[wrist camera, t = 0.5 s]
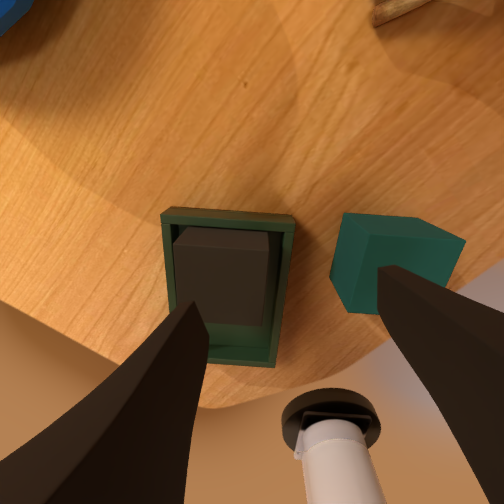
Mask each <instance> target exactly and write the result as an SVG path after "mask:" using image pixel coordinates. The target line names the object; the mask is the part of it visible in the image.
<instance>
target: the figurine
mask: <svg viewBox="0 0 504 504" xmlns="http://www.w3.org/2000/svg"><path fill="white" fill-rule="evenodd" d="M430 1H432V0H387V1H385V2H383V3H380V4H378V5H376V6H375V7H374V9H373V17H372V19H373V26H374V27H376V26H379V25H381V24H383V23H385V22H387V21H389V20H391V19H394V18H396V17H398V16H401V15H403V14H405V13H407V12H409V11H411V10H413V9H415V8H418V7H420V6H421V5H423V4H425V3H427V2H430Z"/></svg>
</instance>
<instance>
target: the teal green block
mask: <svg viewBox="0 0 504 504" xmlns="http://www.w3.org/2000/svg"><path fill="white" fill-rule="evenodd" d="M465 243H466V240H464V239H462V238H460V237H457V236H455V235H453V234H451V233H449V232H447V231H445V230H443V229H440V228H438V227H436V226H434V225H432V224H430V223H428V222H425V221H423V220H421V219H419V218H412V217H398V216H384V215H370V214H355V213H344V214H343V218H342V223H341V227H340V232H339V236H338V241H337V245H336V250H335V254H334V258H333V263H332V267H331V272H330V276H329V278H330V280H331V281H332V283H333V285H334V287H335V289H336V291H337V293H338V295H339V297H340V299H341V301H342V303H343V305H344V306H345V308H346V310H347V312H348V313H362V314H376V315H379V313H378V311H377V270H378V267H384V266H389V265H397V266H399V267H402V268H404V269H406V270H408V271H410V272H413V273H415V274H417V275H419V276H421V277H423V278H425V279H427V280H429V281H431V282H434V283H436V284H438V285H440V286H442V287H444V288H445V287H446V284H447V282H448V280H449V278H450V276H451V274H452V271H453V269H454V267H455V265H456V263H457V261H458V258H459V256H460V254H461V252H462V250H463V247H464V245H465Z"/></svg>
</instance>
